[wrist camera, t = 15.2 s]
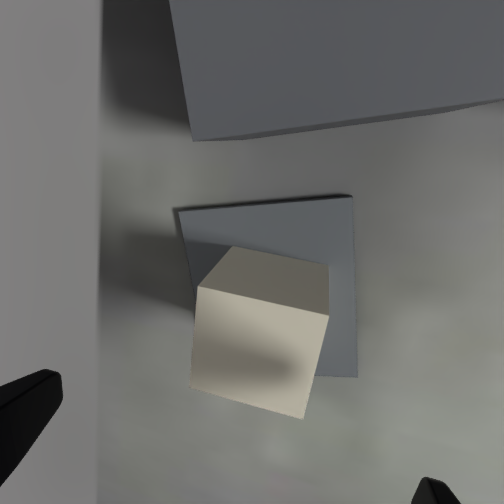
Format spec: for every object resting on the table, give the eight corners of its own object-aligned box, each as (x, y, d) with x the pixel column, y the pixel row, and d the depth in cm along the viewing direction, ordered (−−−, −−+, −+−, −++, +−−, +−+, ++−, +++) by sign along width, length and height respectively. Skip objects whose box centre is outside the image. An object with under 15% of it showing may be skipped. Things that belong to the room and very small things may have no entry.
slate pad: (182, 209, 14) (178, 211, 14) (351, 195, 12) (352, 197, 12) (211, 365, 16) (209, 371, 16) (356, 371, 15) (357, 377, 14)
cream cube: (229, 245, 14) (193, 285, 10) (328, 265, 13) (329, 315, 9) (220, 325, 15) (185, 386, 11) (309, 347, 14) (302, 419, 11)
